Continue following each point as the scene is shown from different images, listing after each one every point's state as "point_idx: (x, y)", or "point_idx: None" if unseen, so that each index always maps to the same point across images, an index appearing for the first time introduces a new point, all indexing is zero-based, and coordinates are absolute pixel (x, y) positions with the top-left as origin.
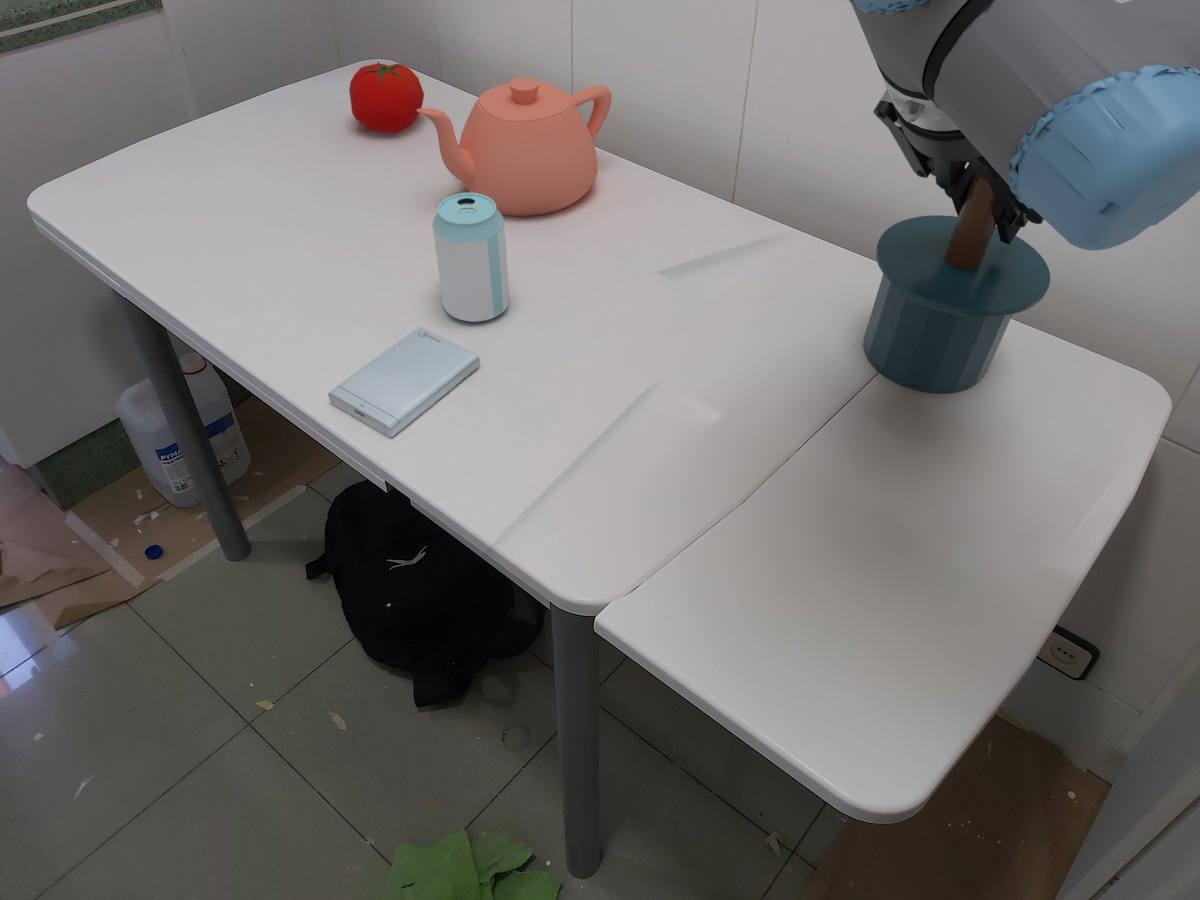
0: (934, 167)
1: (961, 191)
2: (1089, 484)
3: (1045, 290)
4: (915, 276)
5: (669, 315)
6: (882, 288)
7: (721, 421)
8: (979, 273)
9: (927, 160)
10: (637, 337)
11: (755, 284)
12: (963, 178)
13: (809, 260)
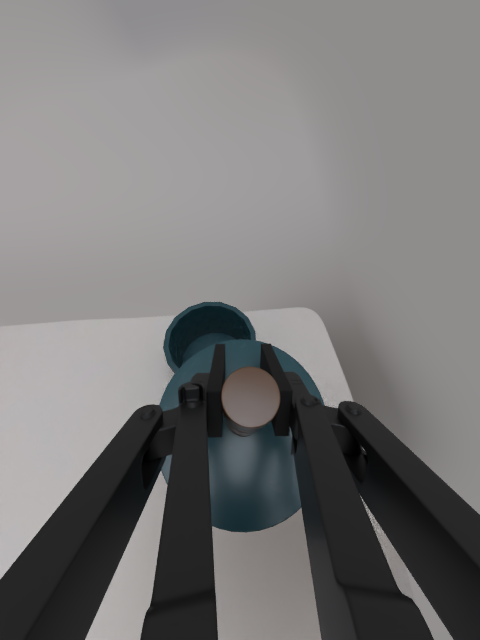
0: (167, 452)
1: (220, 429)
2: (334, 395)
3: (322, 403)
4: (222, 493)
5: (46, 461)
6: (174, 372)
7: (137, 545)
8: (267, 427)
9: (149, 453)
10: (29, 510)
11: (94, 380)
12: (212, 415)
13: (117, 335)
